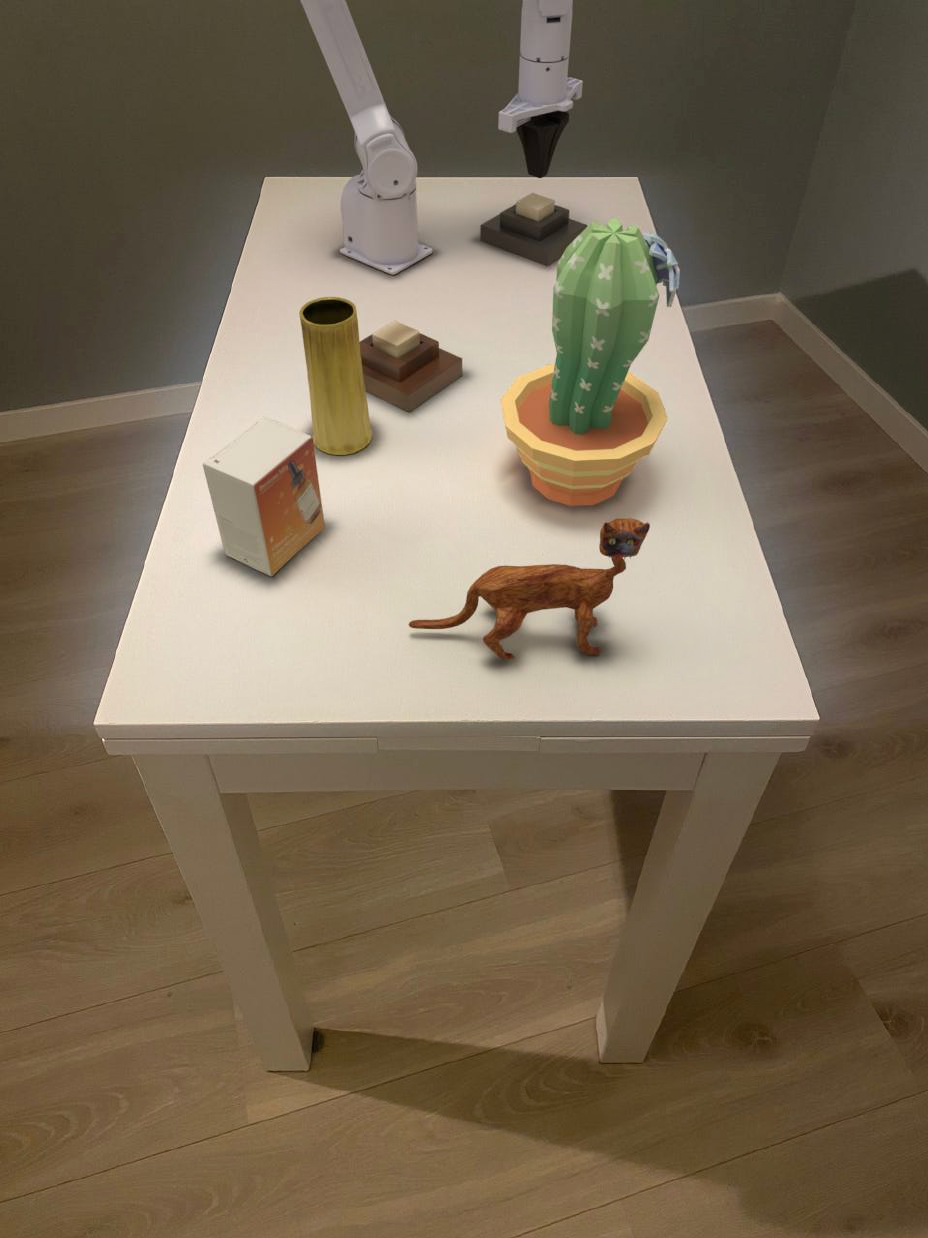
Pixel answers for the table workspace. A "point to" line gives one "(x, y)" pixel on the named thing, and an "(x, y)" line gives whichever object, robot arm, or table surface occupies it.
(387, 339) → the front key
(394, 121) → the robot arm
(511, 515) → the table surface
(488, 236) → the block
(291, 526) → the small box
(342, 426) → the vase
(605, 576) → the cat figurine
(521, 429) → the potted cactus
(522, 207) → the back key
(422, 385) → the front block
